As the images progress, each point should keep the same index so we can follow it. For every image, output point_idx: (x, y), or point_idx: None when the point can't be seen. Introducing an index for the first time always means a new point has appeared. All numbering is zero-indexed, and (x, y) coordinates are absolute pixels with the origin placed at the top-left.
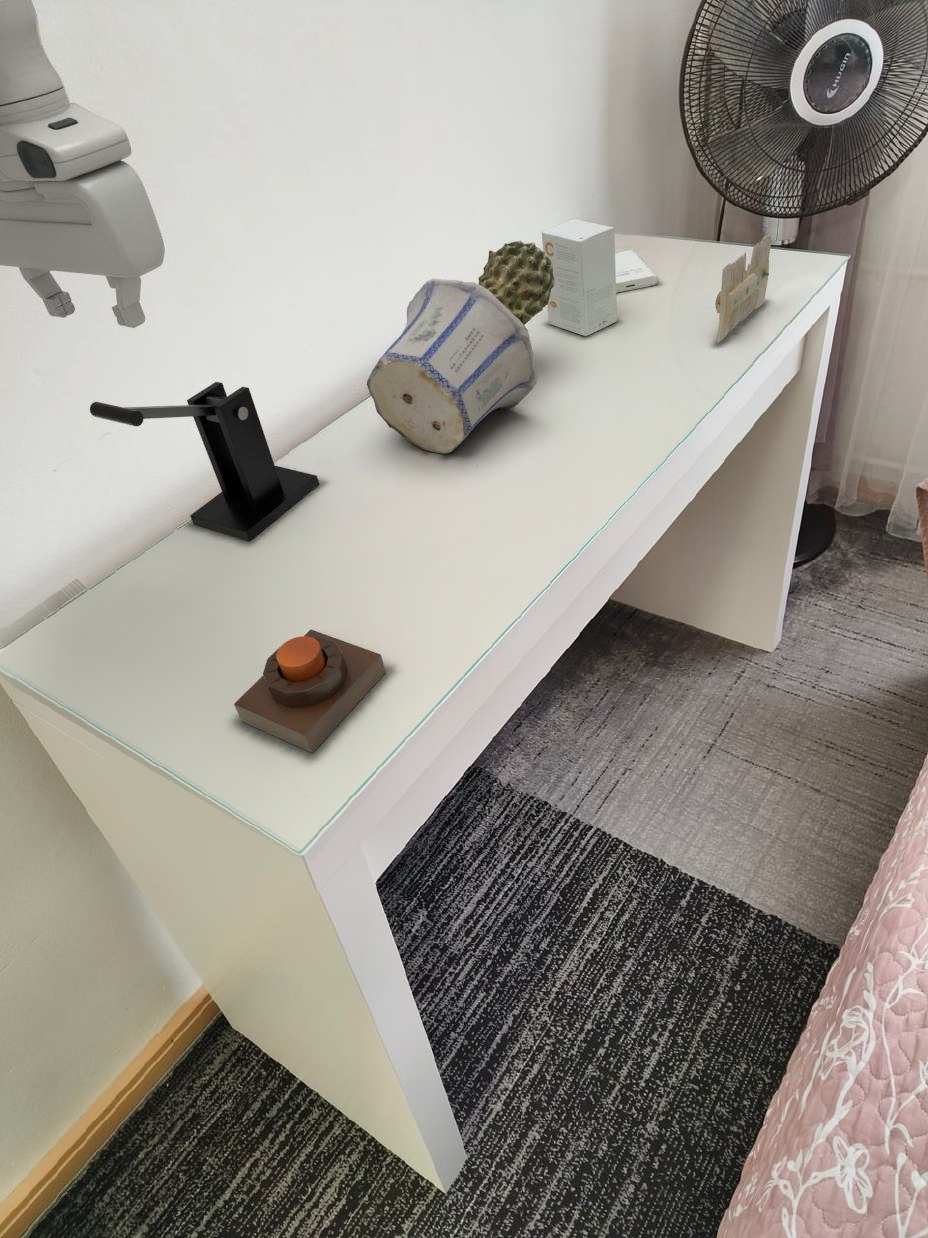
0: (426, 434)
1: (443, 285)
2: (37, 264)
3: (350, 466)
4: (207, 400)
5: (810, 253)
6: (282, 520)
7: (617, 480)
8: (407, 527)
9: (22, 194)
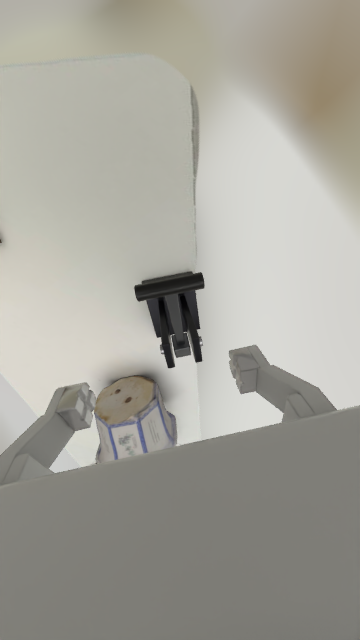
0: (127, 384)
1: None
2: (228, 447)
3: (156, 351)
4: (187, 345)
5: None
6: (144, 304)
7: (36, 401)
8: (78, 336)
9: None
